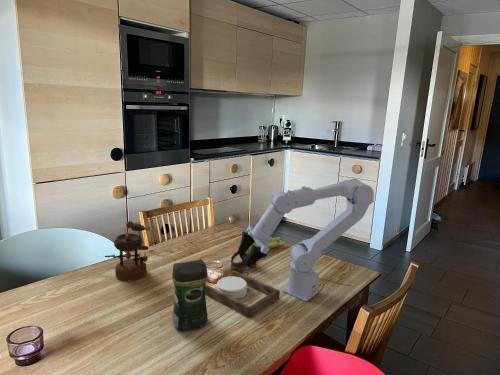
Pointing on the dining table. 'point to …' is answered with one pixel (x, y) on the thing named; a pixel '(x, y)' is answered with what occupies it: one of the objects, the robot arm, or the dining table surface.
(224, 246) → the dining table surface
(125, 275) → the music box
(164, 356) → the dining table surface
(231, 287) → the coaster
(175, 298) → the coffee jar
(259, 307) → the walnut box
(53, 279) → the dining table surface
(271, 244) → the edible corn
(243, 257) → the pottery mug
